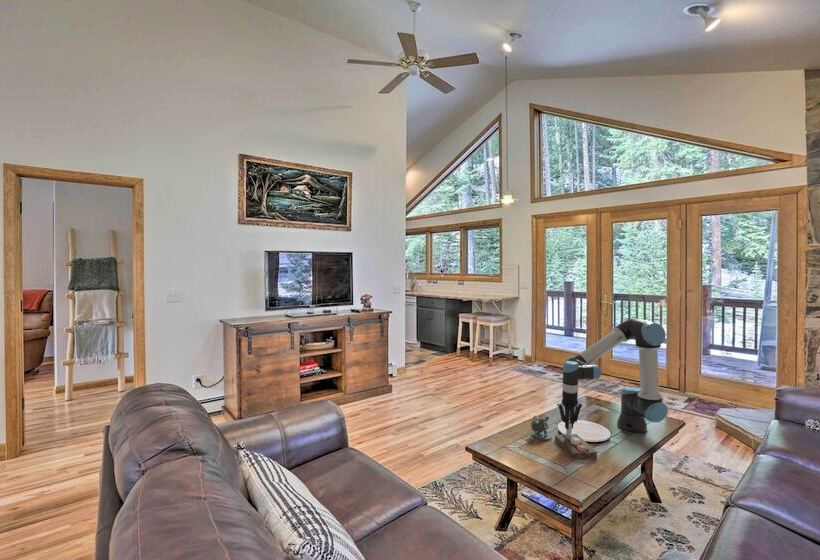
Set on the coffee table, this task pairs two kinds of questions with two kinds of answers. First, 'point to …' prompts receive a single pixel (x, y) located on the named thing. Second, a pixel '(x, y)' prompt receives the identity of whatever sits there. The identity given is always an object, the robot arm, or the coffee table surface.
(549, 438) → the figurine
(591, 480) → the coffee table surface
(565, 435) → the button slate
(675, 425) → the coffee table surface
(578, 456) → the button board
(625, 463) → the coffee table surface
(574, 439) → the button cream
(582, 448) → the button terracotta
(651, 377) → the robot arm
